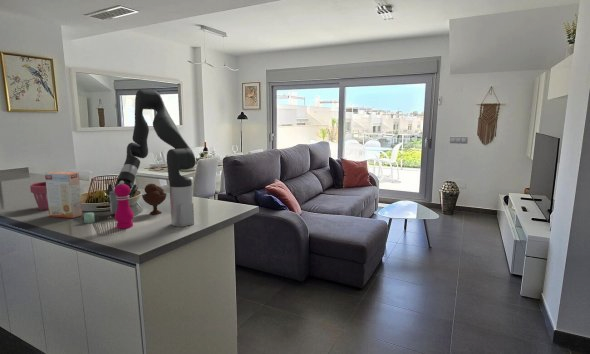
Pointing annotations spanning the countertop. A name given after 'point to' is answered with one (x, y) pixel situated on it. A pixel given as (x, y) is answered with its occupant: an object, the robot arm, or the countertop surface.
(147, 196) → the ice cream bowl
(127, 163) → the robot arm
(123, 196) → the pepper mill
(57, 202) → the cracker box
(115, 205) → the charcoal cup
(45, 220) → the countertop surface
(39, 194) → the plant pot
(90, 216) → the mint green cube
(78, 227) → the countertop surface
